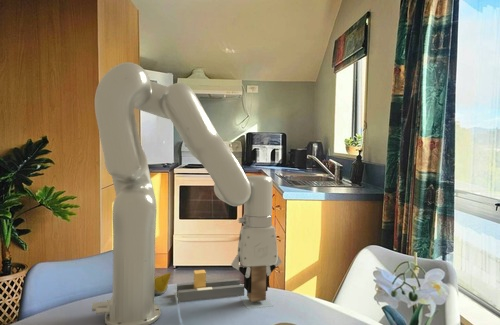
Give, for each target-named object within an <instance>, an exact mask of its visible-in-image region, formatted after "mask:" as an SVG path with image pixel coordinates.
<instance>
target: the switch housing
mask: <svg viewBox="0 0 500 325" xmlns="http://www.w3.org/2000/svg"><path fill="white" fill-rule="evenodd" d="M193 287H194V281H193V282H182V283H176V298H177V302H178V305H179V303H182V302H185V303H186V302H194V301H205V300H214V299H224V298H233V297H241V296H242V297H244V296H245V288H244V283H243V284H242V283H241V279H240V278H239V277H238V278H237V277H236V278H227V279H218V280H215V279H214V280H206V288H197V289H193Z"/></svg>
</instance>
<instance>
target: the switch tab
mask: <svg viewBox="0 0 500 325" xmlns="http://www.w3.org/2000/svg"><path fill="white" fill-rule="evenodd" d="M206 278H207V272H206V270H205V269H198V270H196V269H195V270H193V282H194V287H193V289H197V288H206V281H207V279H206Z"/></svg>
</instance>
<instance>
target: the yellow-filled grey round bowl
mask: <svg viewBox="0 0 500 325" xmlns="http://www.w3.org/2000/svg"><path fill="white" fill-rule="evenodd" d="M171 275H172V272H167V273H164V274H162V275H155V291H154V295H156V296H161V295H163V294H165V292H167V290H168V284H169V281H170V278H171Z"/></svg>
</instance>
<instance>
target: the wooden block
mask: <svg viewBox="0 0 500 325" xmlns="http://www.w3.org/2000/svg"><path fill="white" fill-rule="evenodd" d="M250 277H251V293H248V291H247V290H246V297H248V298H249V299H250V301H251V302H254V301H263V300H266V298H267V291H266V266H259V267H251V272H250Z"/></svg>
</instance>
